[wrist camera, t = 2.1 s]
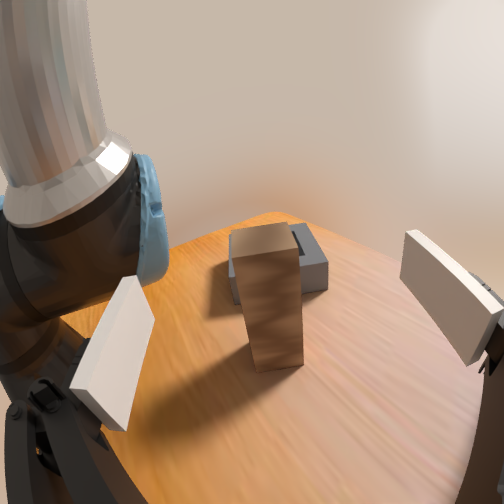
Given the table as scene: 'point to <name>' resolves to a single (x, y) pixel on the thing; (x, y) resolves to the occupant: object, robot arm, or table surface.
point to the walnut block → (270, 294)
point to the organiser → (309, 259)
